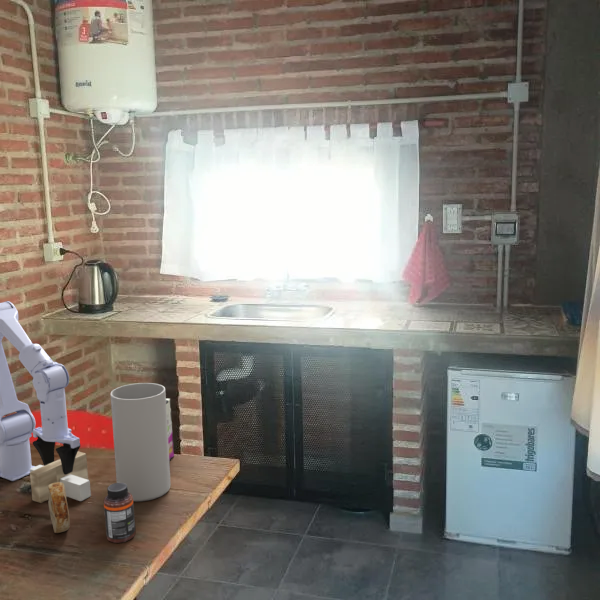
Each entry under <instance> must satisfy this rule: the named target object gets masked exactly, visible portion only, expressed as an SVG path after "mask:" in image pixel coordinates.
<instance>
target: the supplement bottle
mask: <svg viewBox="0 0 600 600" xmlns="http://www.w3.org/2000/svg"><path fill="white" fill-rule="evenodd" d="M103 499H104V500H103V510H104V521H105V522H104V523H105V534H106V538H107V541H108V542H111V543H114V544H115V543H116V544H120V543H121V544H122V543H125V542H127V541H129V540H131V539H133V538H134V536H135V535H136V521H135V507H134V506H135V505H134V501H133V496H132V495H131V493H129V492H128V489H127V485H126V484H125V483H117V482H114V483H111V484H109V486H108V487H107V495H106V496H105V497H104V498H103Z"/></svg>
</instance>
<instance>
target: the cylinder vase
mask: <svg viewBox="0 0 600 600" xmlns="http://www.w3.org/2000/svg"><path fill="white" fill-rule="evenodd" d="M166 395H167V393H166V387H165V386H164V385H162V384H159V383H152V382H138V383H130V384H124V385H121V386H118V387H116V388H115V389H112V390H111V392H110V405H111V406H110V407H111V417H112V436H113V448H114V449H113V450H114V462H115V474H116V475H115V478H116V483H125V484H126V485H127V489H128V492H129V493H131V495H132V496H133V502H147V501H152V500H155V499H158V498H160V497H162V496H164V495H166V493H167V492H168V491H170V488H171V485H172V484H171V469H170V460H169V447H168V429H167V410H166V397H167V396H166Z"/></svg>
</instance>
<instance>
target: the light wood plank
mask: <svg viewBox="0 0 600 600" xmlns="http://www.w3.org/2000/svg"><path fill="white" fill-rule="evenodd" d="M69 474H71V475H74V476H78V477H81V478H84V479H87V480H89V473H88V461H87V453H85V452H82V451H80V450H78V452H77V454H76V457H75V461H74V466H73V471H72V472H71V473H69ZM69 474H67V475H69ZM67 475H65V474H64V473H63V470H62V464H61V460H60V458H58V459H57V460H54V462H52V463H50V464H47V465H45V466H44V465H43V467H41V468H38V469H36V470H34V471H31V472H30V474H29V479H30V487H31V488H30V490H31V498H32V501H33V502H37V503H40V504H42V503H44V502H47V501H49V490H48V485H49V484H52V483H56V482H60V479H61V478H63V477H65V476H67Z"/></svg>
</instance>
